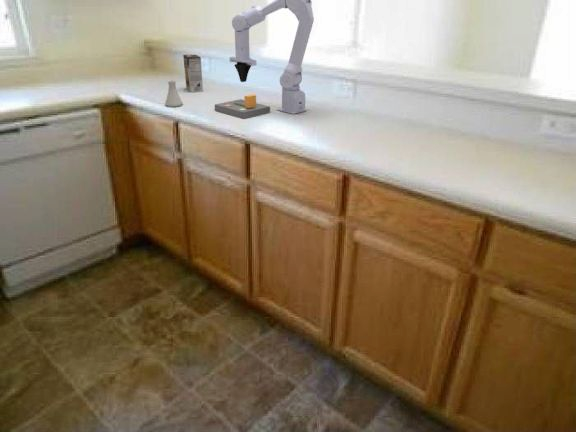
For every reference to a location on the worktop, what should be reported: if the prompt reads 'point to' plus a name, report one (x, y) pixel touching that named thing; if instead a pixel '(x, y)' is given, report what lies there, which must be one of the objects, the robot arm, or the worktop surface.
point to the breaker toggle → (250, 101)
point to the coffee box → (193, 73)
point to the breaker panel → (241, 109)
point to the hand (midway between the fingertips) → (243, 81)
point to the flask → (173, 96)
